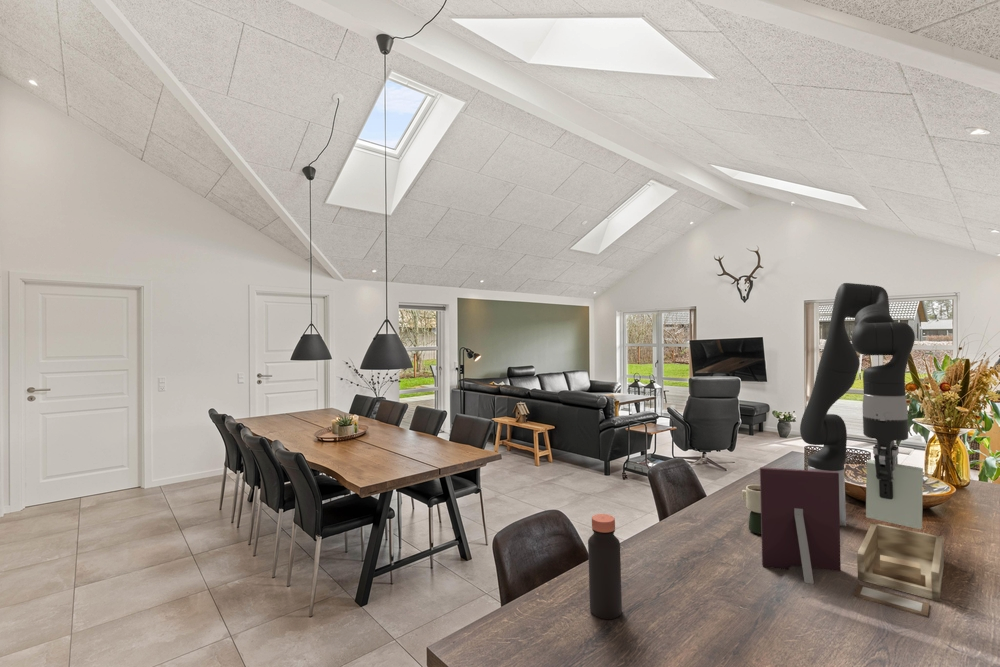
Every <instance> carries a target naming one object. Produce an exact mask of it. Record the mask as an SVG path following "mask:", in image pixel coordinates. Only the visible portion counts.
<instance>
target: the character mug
mask: <svg viewBox="0 0 1000 667" xmlns="http://www.w3.org/2000/svg"><path fill="white" fill-rule="evenodd" d="M741 499H742V501H745V502H746V503H745V504H746V505H745V506H746V508H747V510H749V511H750V512H749V518H748V531H749V530H750V531H751V533H754V534H758V535H759V534H761V494H760V484H748V485H746V486H745V489H742V490H741Z"/></svg>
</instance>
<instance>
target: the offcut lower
mask: <svg viewBox="0 0 1000 667" xmlns="http://www.w3.org/2000/svg"><path fill="white" fill-rule="evenodd" d="M872 571H873V573H874V574H878V575H881V576H885V577H889V578H893V579H897V580H901V581H904V582H908V583H912V584H916V585H920V586H924V587H926V581H925V575H922V574H921V580H919V579H915V578H910V577H906V576H901V575H897V574H892V573H888V572H883V571H880V564H877V563H874V566H873V568H872Z"/></svg>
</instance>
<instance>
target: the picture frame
mask: <svg viewBox="0 0 1000 667" xmlns="http://www.w3.org/2000/svg"><path fill="white" fill-rule="evenodd" d="M759 482H760V484H759V485H760V494H761V565H762V567H763V568H769V569H778V570H779V569H780V570H785V571H788V570H790V568H791V567H800V568H802V573H803V580H804V583H807V584H813V585H814V584H815V582H814V576H813V569H818V570H826V571H834V572H835V571H836V572H841V568H842V567H841V564H842V563H841V561H842V560H841V525H840V509H839V473H838V472H831V471H813V470H808V469H793V468H779V467H778V468H776V467H775V468H773V467H759Z"/></svg>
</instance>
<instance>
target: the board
mask: <svg viewBox="0 0 1000 667" xmlns="http://www.w3.org/2000/svg"><path fill="white" fill-rule="evenodd" d="M853 597H856V598H859V599H863V600H866V601H870V602H873V603H878V604H881V605H884V606H887V607H891V608H894V609H897V610H901V611H904V612H908V613H910V614H915V615H917V616H920V617H921V616H922V617H924V618H929V617H928V616H929V610H930V602H925V601H922V600H919V599H915V598H911V597H908V596H904V595H901V594H898V593H897V594H896V593H895V592H890V591H886V590H883V589H878V588H876V587H871V586H868V585H865V584H860V583H857V586H856V588H855V591H854V593H853Z"/></svg>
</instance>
